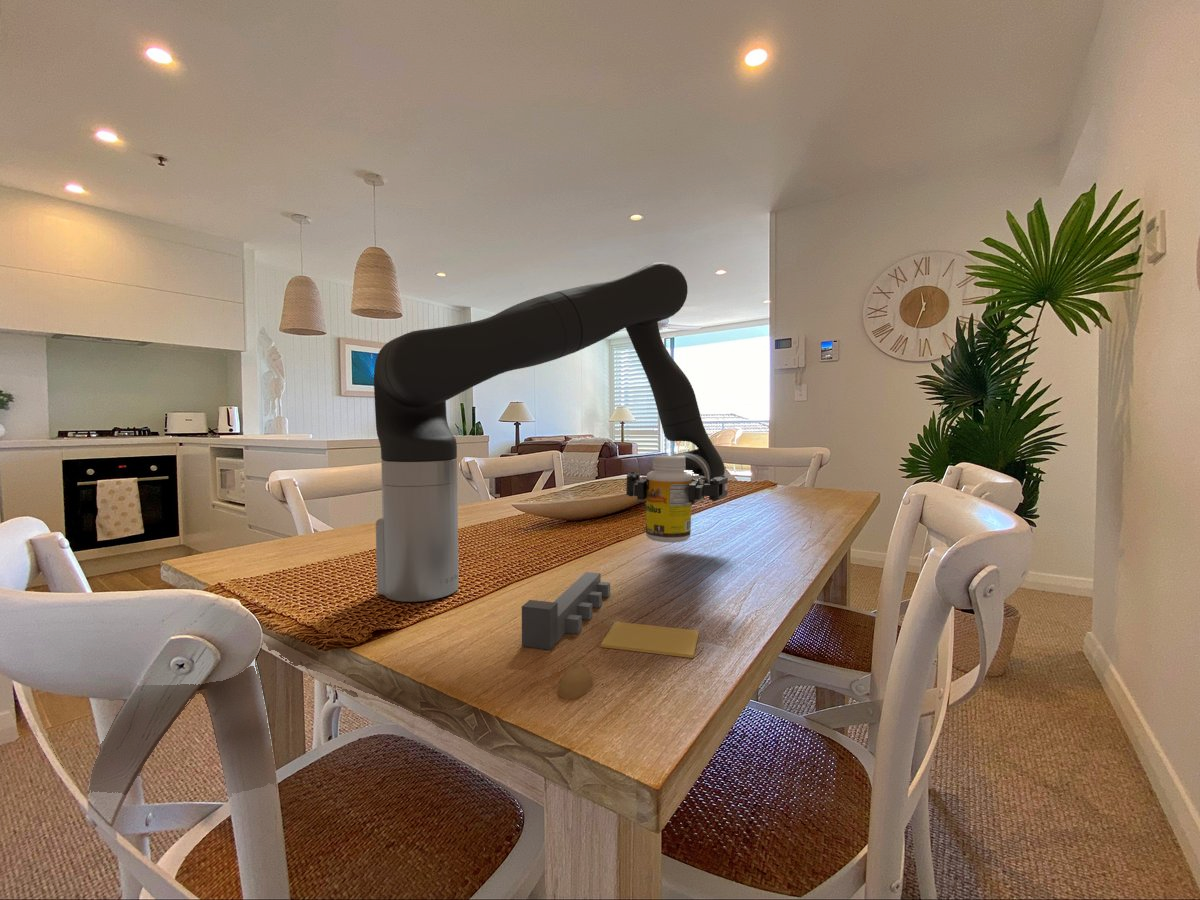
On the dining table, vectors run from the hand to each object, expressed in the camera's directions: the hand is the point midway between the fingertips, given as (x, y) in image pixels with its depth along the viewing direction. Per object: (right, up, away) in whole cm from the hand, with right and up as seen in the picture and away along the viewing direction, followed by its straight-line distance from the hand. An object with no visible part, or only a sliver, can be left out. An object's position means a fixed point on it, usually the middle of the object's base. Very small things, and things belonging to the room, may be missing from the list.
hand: (665, 492), depth 63 cm
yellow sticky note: (-3, -14, -9) cm, 17 cm away
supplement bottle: (+1, -6, +3) cm, 7 cm away
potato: (-10, -15, -19) cm, 26 cm away
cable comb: (-11, -14, -3) cm, 18 cm away
